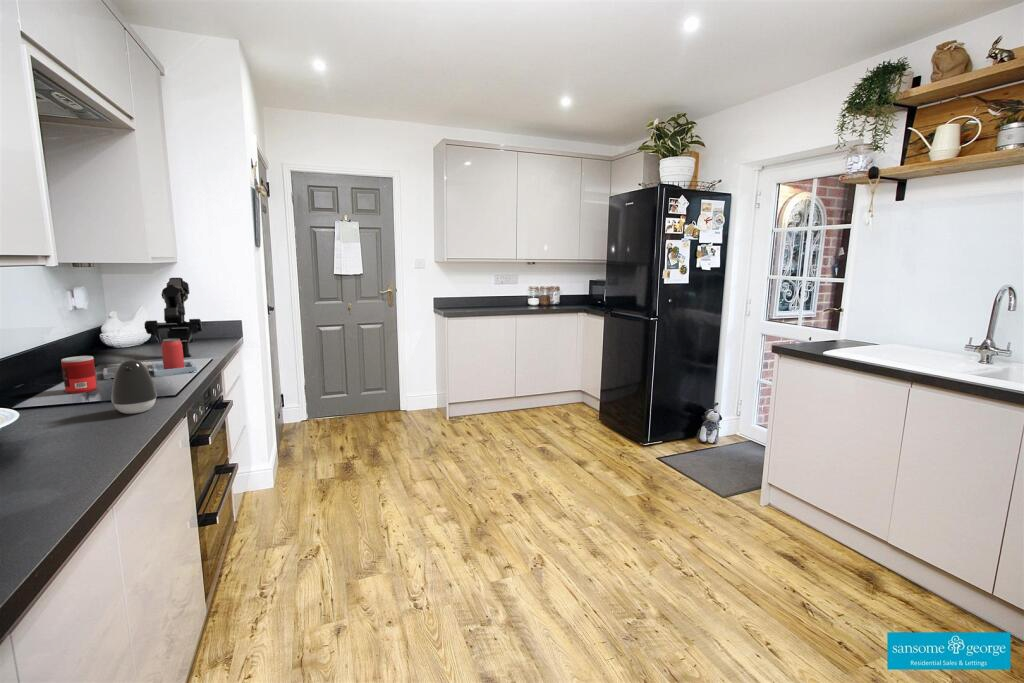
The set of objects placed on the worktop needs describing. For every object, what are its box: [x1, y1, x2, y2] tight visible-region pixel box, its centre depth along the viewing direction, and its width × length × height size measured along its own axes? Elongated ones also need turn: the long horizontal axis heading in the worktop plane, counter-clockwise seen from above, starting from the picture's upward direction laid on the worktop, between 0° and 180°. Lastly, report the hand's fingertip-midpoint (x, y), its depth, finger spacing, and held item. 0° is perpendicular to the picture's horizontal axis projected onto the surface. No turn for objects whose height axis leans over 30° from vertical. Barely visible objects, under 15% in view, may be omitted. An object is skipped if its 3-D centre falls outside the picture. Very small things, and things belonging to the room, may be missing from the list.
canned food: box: [60, 355, 98, 394], centre depth 157 cm, size 8×8×11 cm
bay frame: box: [102, 363, 150, 380], centre depth 180 cm, size 13×13×2 cm
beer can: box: [160, 338, 185, 370], centre depth 185 cm, size 7×7×12 cm
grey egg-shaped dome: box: [111, 359, 158, 415], centre depth 136 cm, size 10×10×15 cm
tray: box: [151, 361, 198, 378], centre depth 185 cm, size 13×13×2 cm
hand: (174, 342), depth 191 cm, fingers open, 9 cm apart
